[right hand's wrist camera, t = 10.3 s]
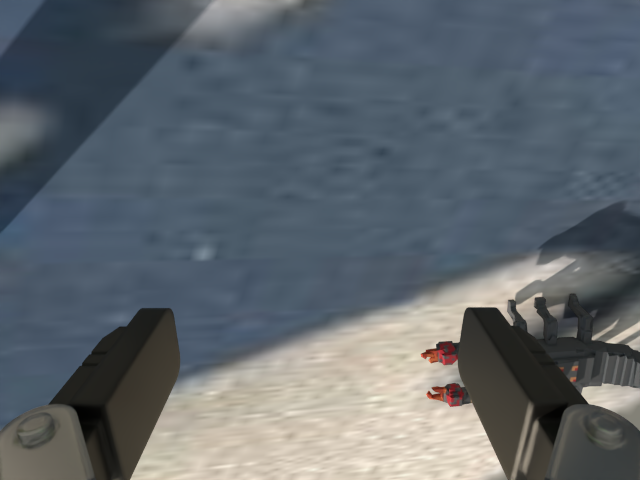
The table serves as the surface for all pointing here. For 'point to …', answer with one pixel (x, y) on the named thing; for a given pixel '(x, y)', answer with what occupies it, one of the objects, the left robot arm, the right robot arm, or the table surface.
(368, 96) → the table surface
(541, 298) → the toy
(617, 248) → the table surface
